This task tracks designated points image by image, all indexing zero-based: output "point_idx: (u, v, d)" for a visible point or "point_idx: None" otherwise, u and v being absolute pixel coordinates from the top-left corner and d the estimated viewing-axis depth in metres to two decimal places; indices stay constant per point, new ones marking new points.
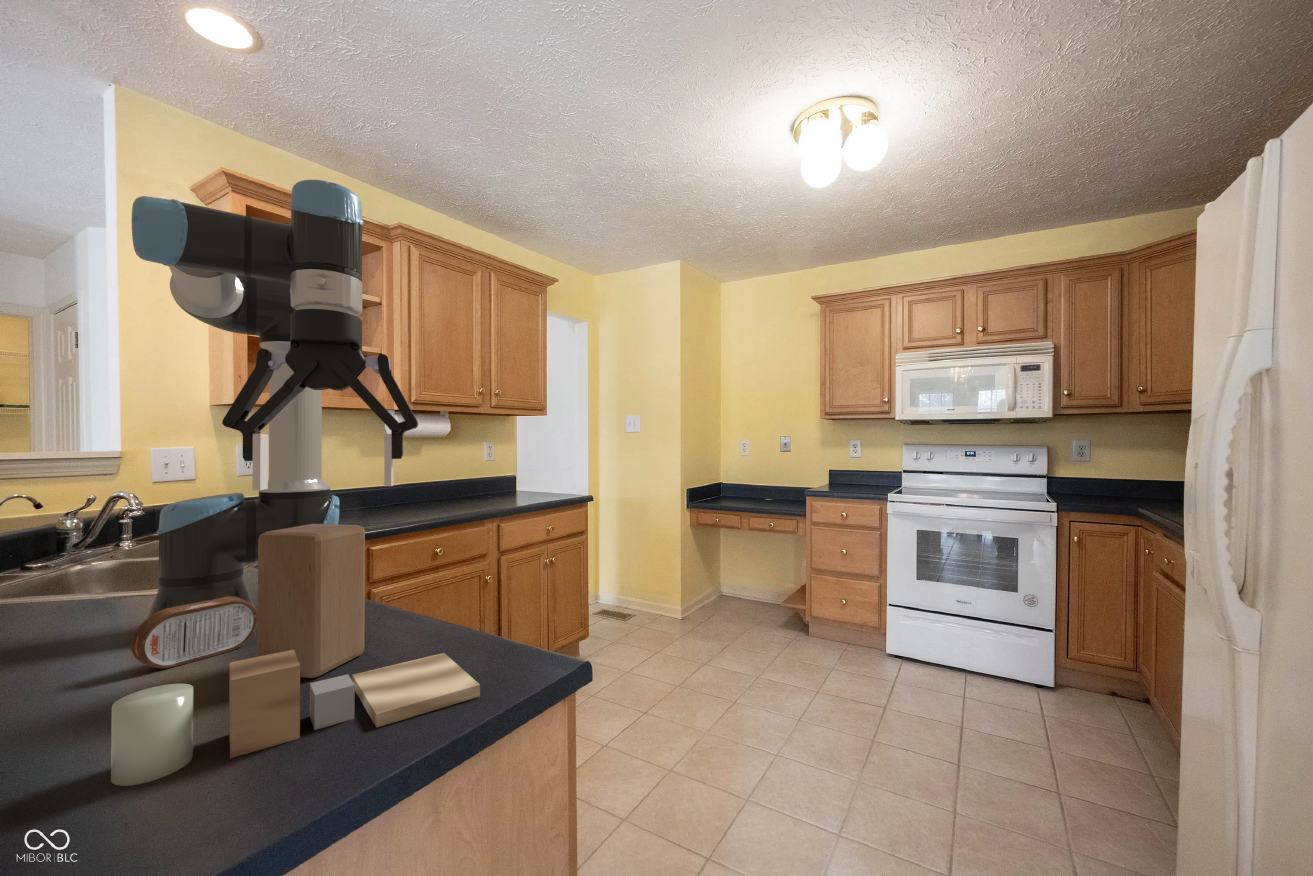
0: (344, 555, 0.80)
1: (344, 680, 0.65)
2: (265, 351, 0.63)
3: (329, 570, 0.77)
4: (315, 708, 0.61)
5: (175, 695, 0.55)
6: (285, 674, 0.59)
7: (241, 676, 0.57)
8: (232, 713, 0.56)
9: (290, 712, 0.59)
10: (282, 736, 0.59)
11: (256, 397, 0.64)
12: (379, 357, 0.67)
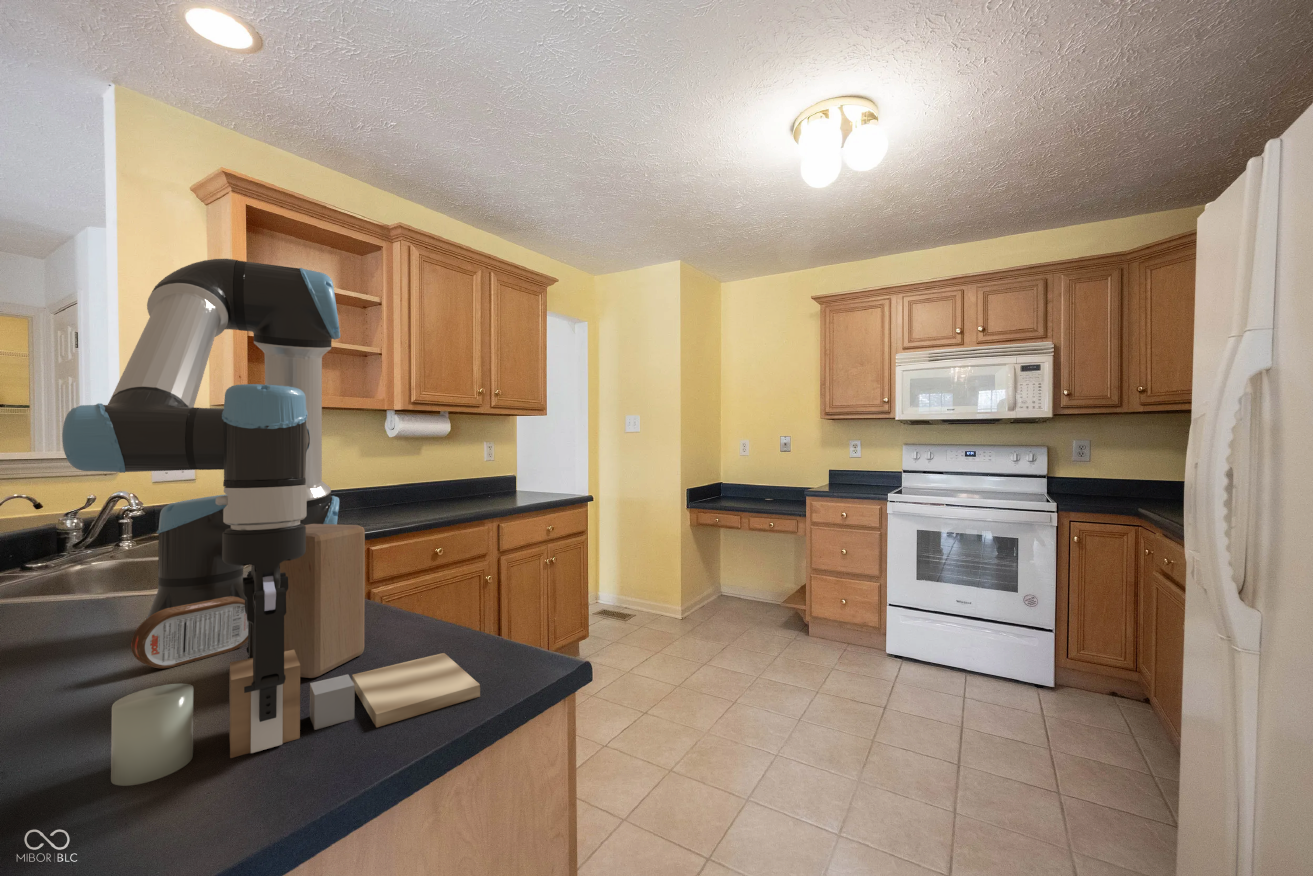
0: (344, 555, 0.80)
1: (344, 680, 0.65)
2: (248, 573, 0.64)
3: (329, 570, 0.77)
4: (315, 708, 0.61)
5: (175, 695, 0.55)
6: (285, 674, 0.59)
7: (241, 676, 0.57)
8: (232, 713, 0.56)
9: (290, 712, 0.59)
10: None
11: None
12: (254, 594, 0.55)
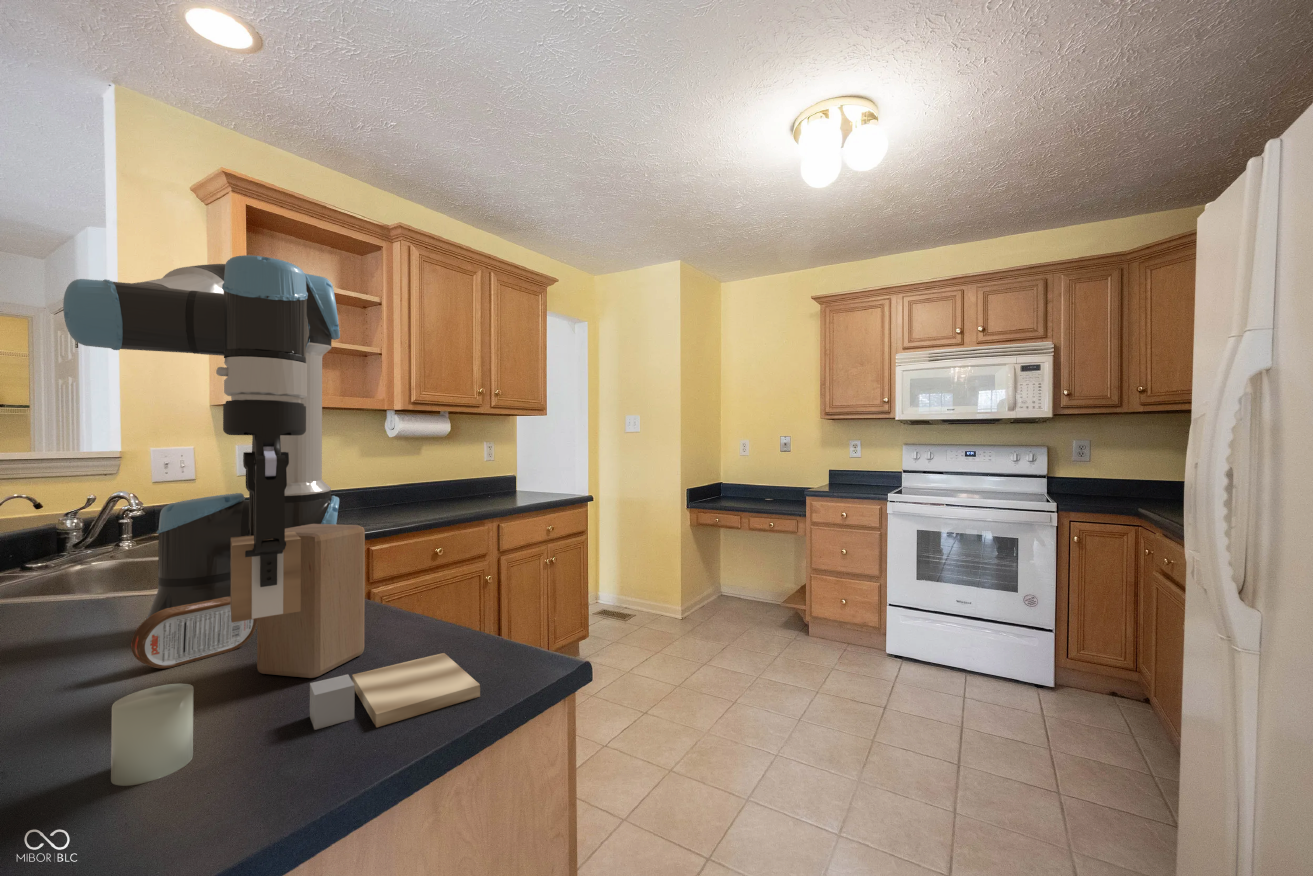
0: (344, 555, 0.80)
1: (344, 680, 0.65)
2: None
3: (329, 570, 0.77)
4: (315, 708, 0.61)
5: (175, 695, 0.55)
6: (286, 546, 0.59)
7: (242, 543, 0.57)
8: (233, 578, 0.56)
9: (291, 584, 0.59)
10: (283, 607, 0.59)
11: None
12: None
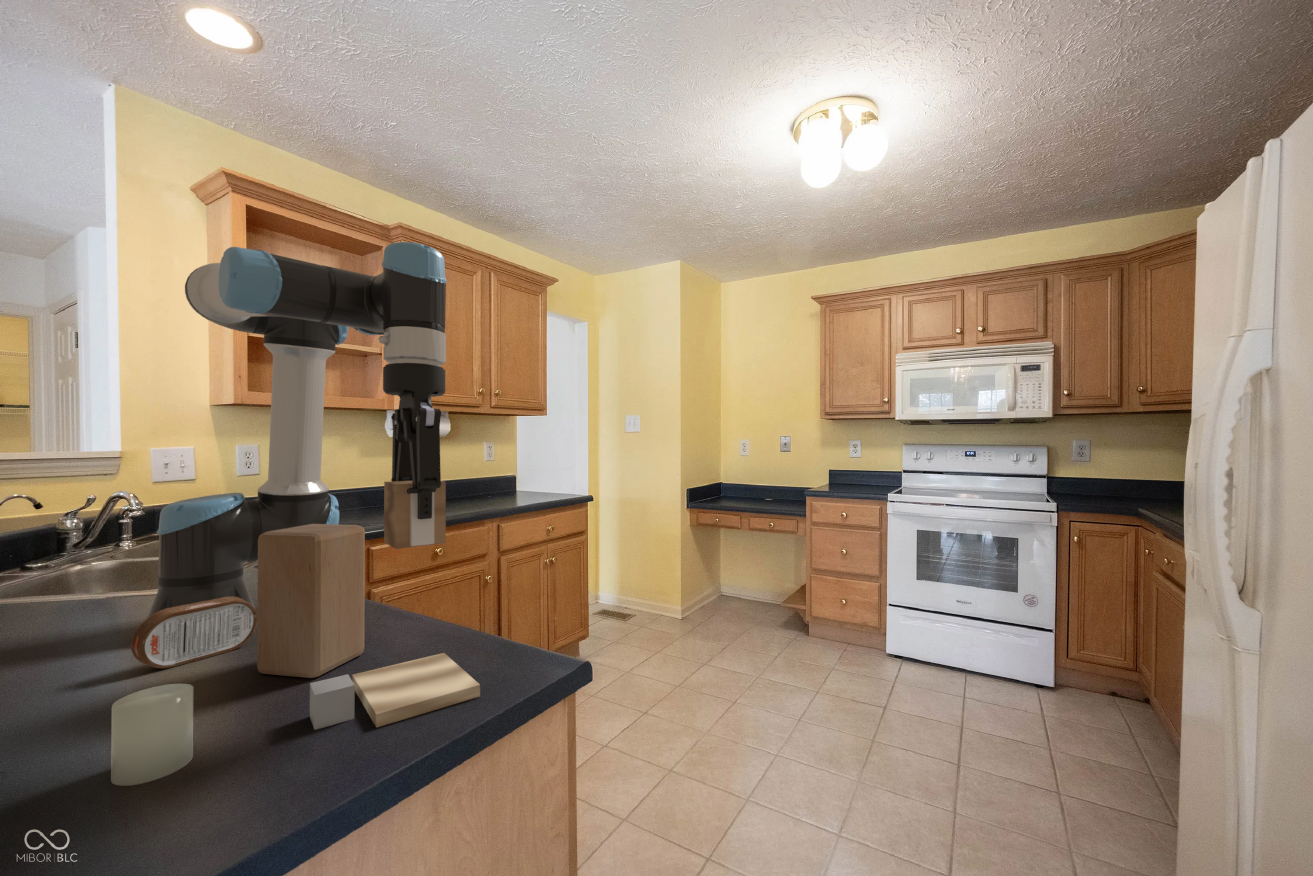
0: (344, 555, 0.80)
1: (344, 680, 0.65)
2: (393, 415, 0.75)
3: (329, 570, 0.77)
4: (315, 708, 0.61)
5: (175, 695, 0.55)
6: None
7: (402, 483, 0.68)
8: (397, 512, 0.67)
9: (438, 519, 0.70)
10: None
11: None
12: (418, 410, 0.66)
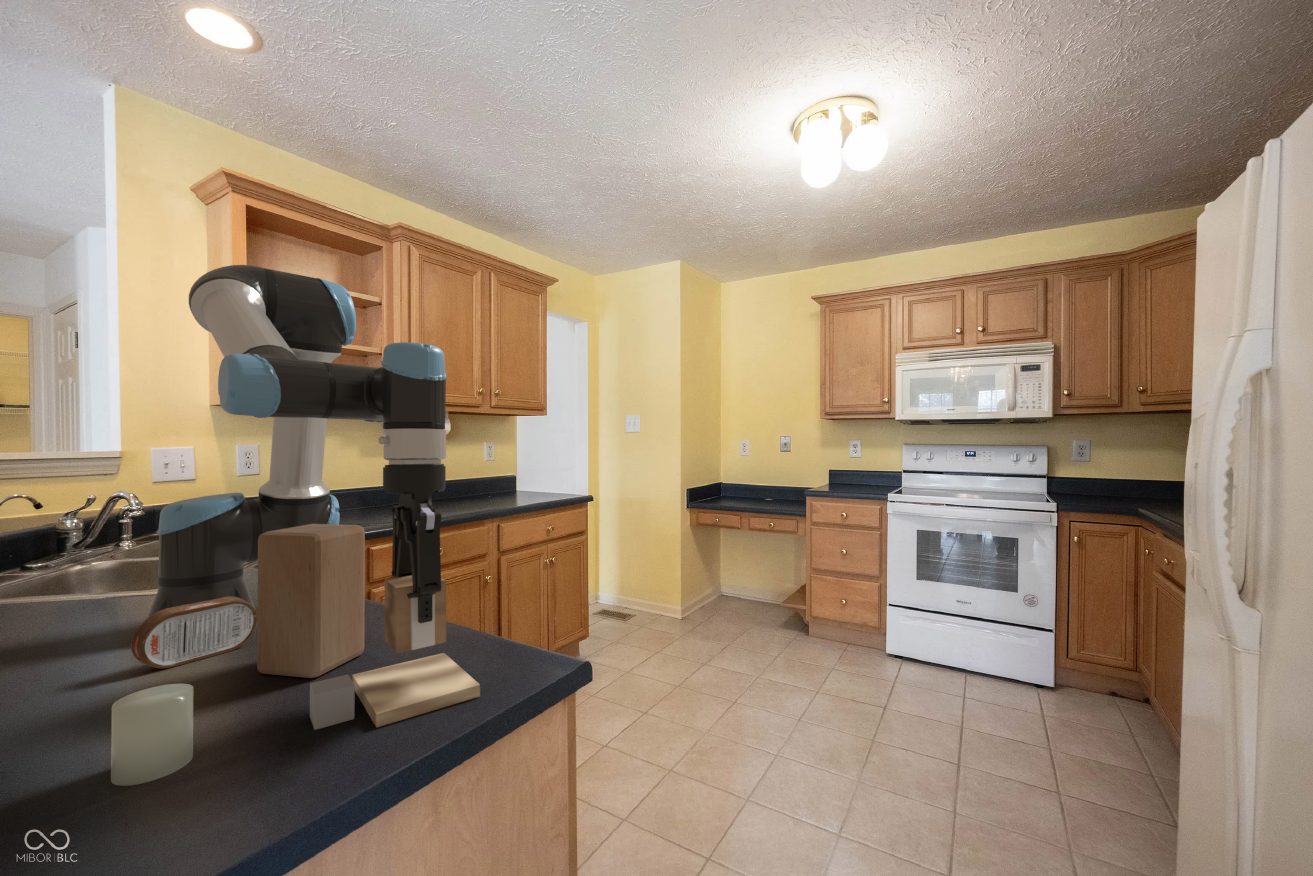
0: (344, 555, 0.80)
1: (344, 680, 0.65)
2: (393, 508, 0.75)
3: (329, 570, 0.77)
4: (315, 708, 0.61)
5: (175, 695, 0.55)
6: None
7: (402, 586, 0.68)
8: (397, 616, 0.67)
9: (439, 619, 0.70)
10: None
11: None
12: (418, 515, 0.66)
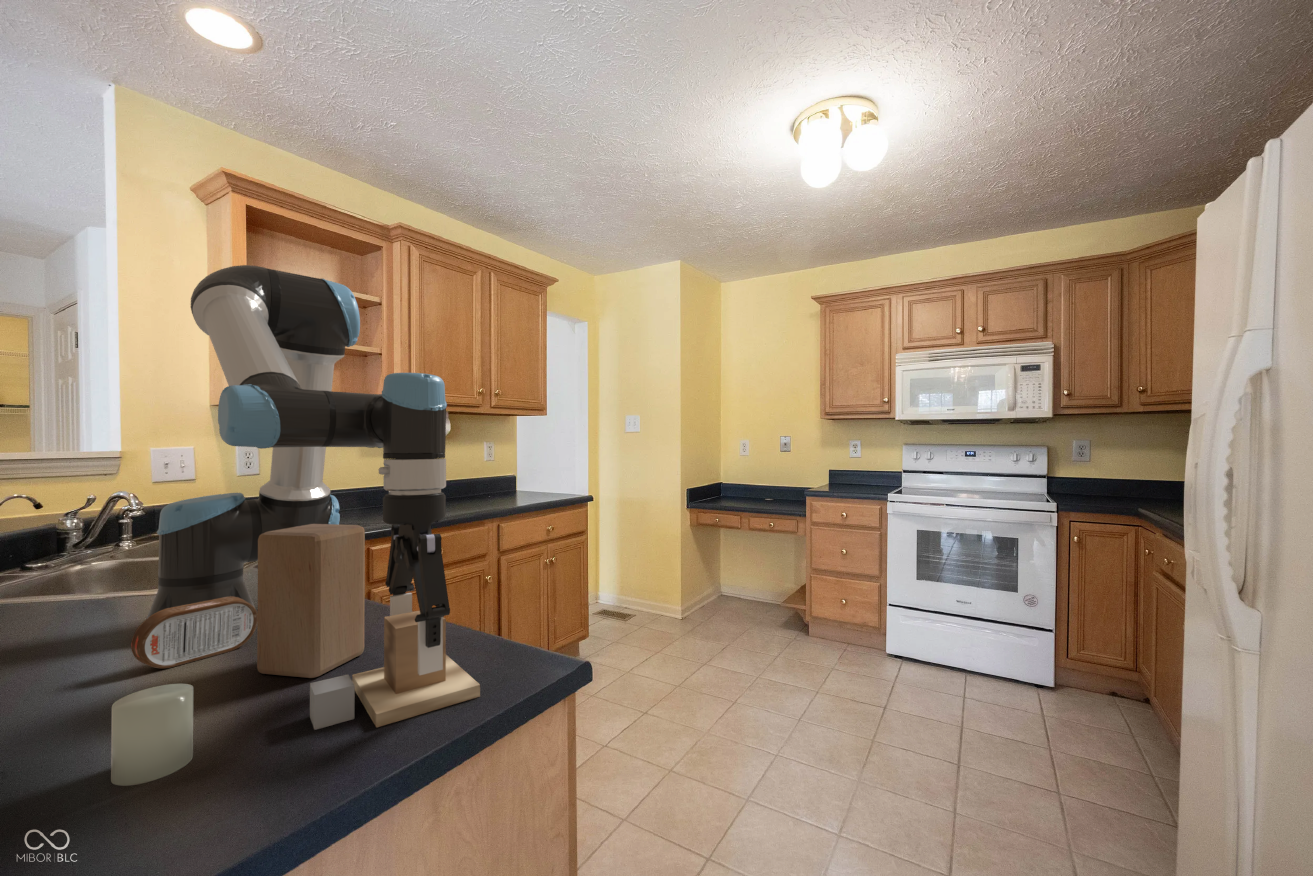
0: (344, 555, 0.80)
1: (344, 680, 0.65)
2: (393, 527, 0.75)
3: (329, 570, 0.77)
4: (315, 708, 0.61)
5: (175, 695, 0.55)
6: None
7: (402, 626, 0.68)
8: (396, 656, 0.67)
9: None
10: (433, 678, 0.69)
11: None
12: (418, 539, 0.66)
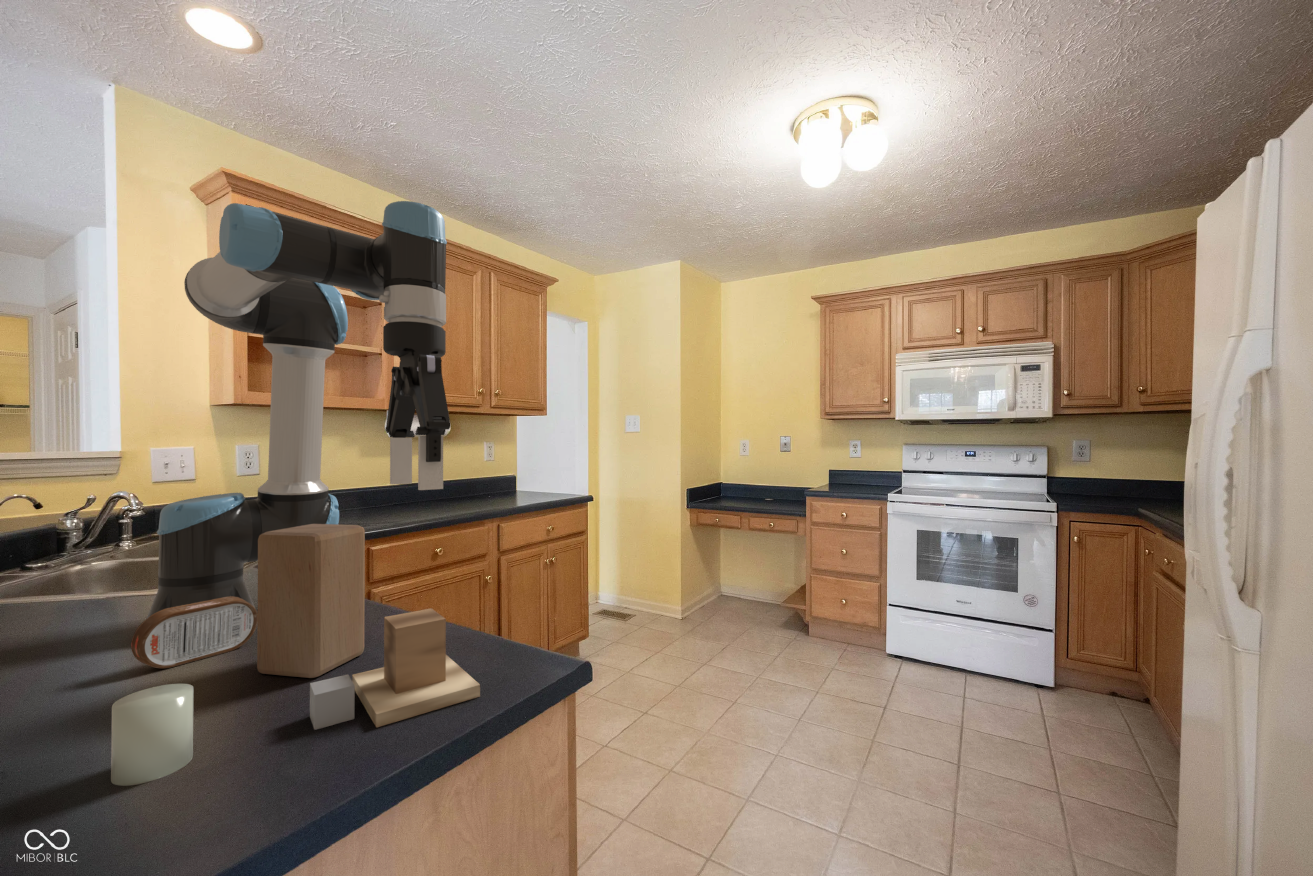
0: (344, 555, 0.80)
1: (344, 680, 0.65)
2: (393, 368, 0.76)
3: (329, 570, 0.77)
4: (315, 708, 0.61)
5: (175, 695, 0.55)
6: (435, 626, 0.70)
7: (402, 626, 0.68)
8: (396, 656, 0.67)
9: (438, 658, 0.70)
10: (433, 678, 0.69)
11: None
12: (418, 358, 0.66)
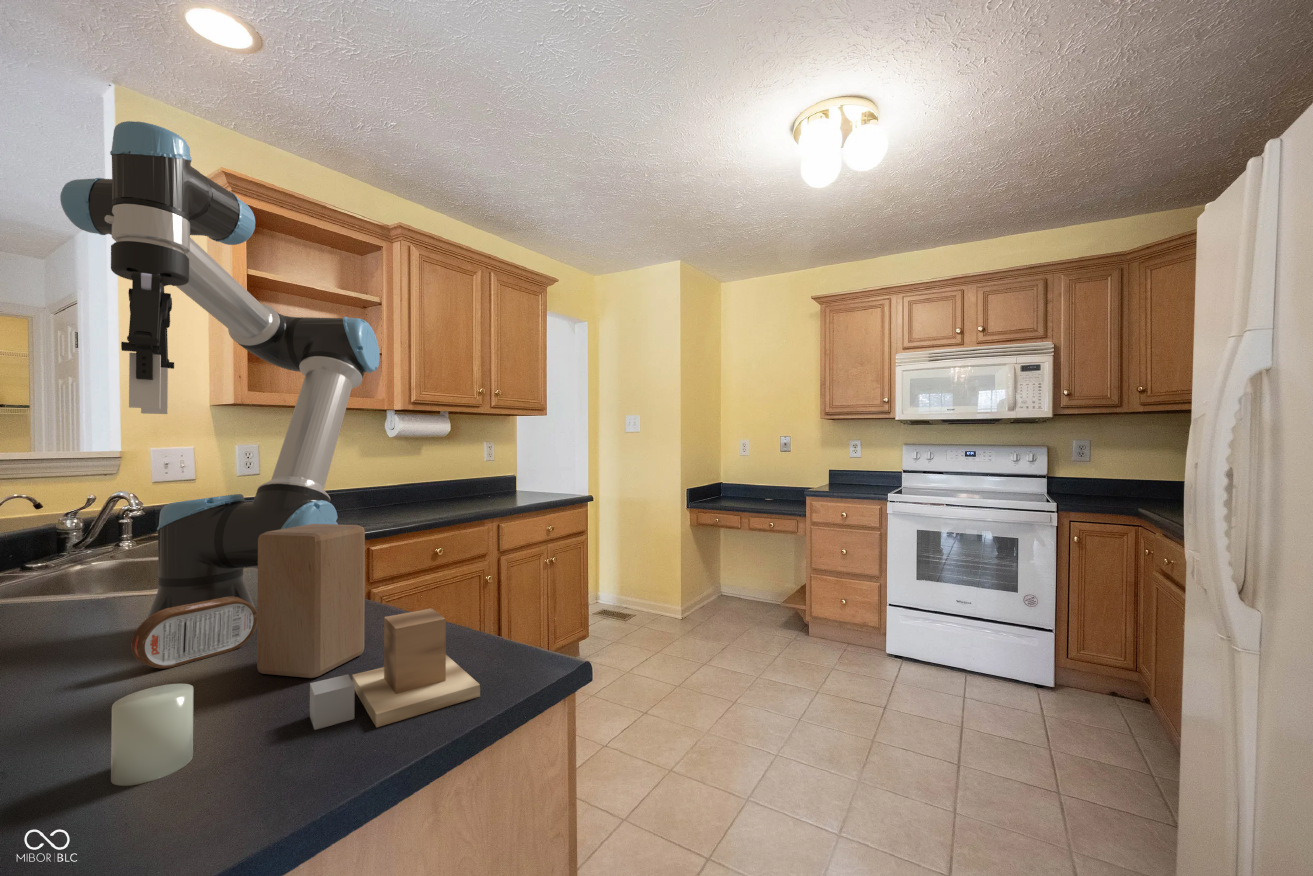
0: (344, 555, 0.80)
1: (344, 680, 0.65)
2: None
3: (329, 570, 0.77)
4: (315, 708, 0.61)
5: (175, 695, 0.55)
6: (435, 626, 0.70)
7: (402, 626, 0.68)
8: (396, 656, 0.67)
9: (438, 658, 0.70)
10: (433, 678, 0.69)
11: None
12: None
